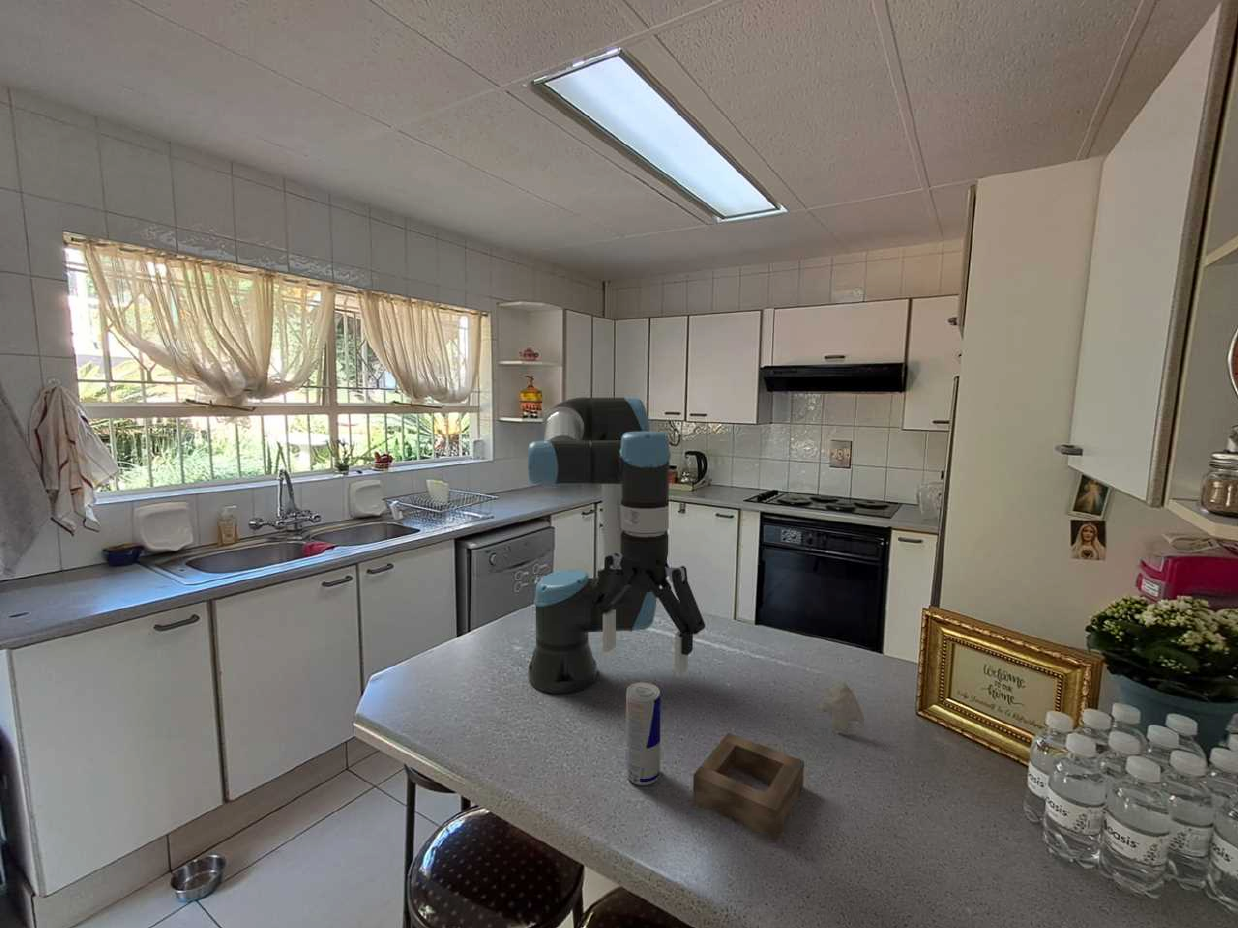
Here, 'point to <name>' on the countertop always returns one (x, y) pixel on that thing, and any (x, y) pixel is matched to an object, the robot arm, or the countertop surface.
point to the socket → (742, 800)
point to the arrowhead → (842, 708)
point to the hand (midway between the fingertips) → (643, 660)
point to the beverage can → (643, 733)
